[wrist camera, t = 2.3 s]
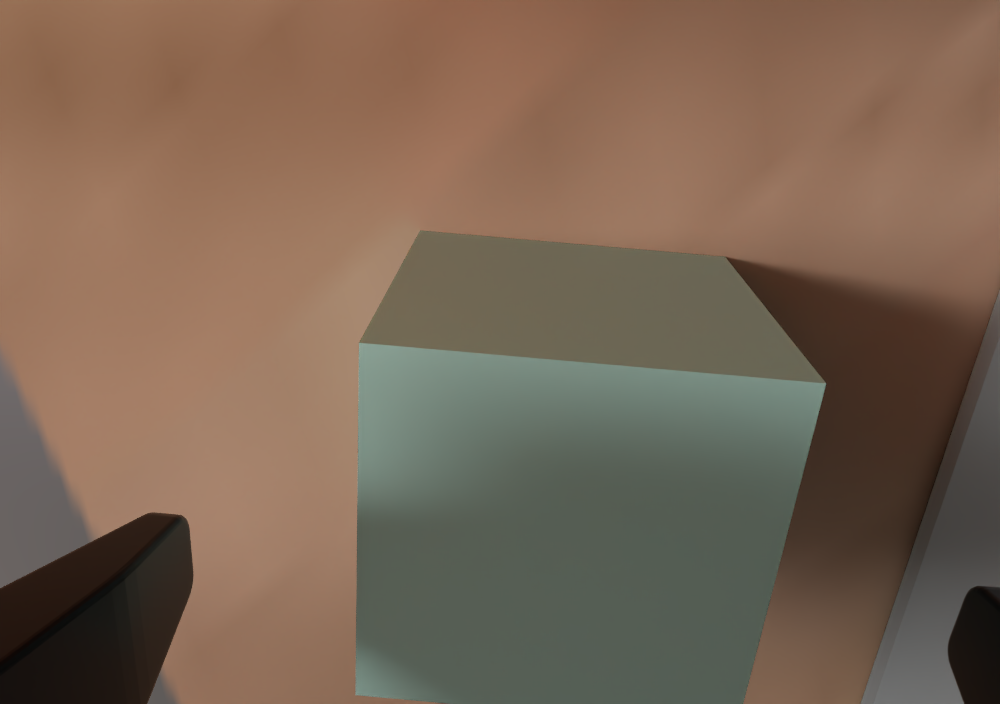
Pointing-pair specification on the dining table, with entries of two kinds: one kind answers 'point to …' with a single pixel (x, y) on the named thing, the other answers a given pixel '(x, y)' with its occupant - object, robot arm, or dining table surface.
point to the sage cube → (571, 475)
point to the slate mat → (948, 547)
